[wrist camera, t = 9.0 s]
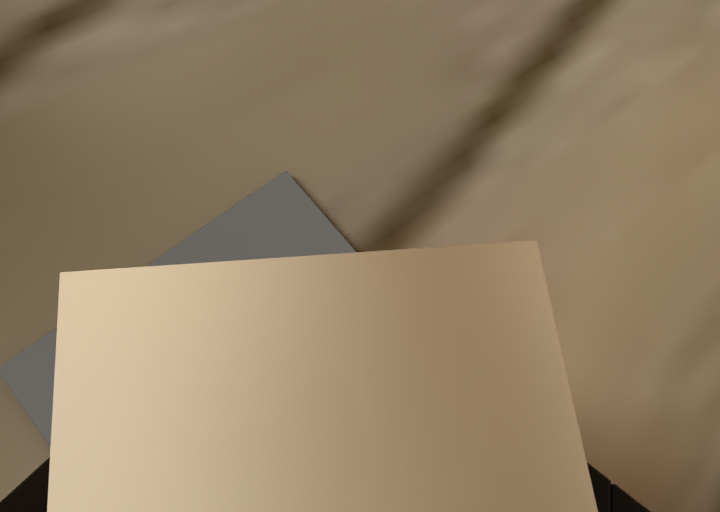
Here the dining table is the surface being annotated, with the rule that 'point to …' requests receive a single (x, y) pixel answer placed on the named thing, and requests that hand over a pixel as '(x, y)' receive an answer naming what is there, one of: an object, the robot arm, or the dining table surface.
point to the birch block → (316, 386)
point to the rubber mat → (209, 244)
